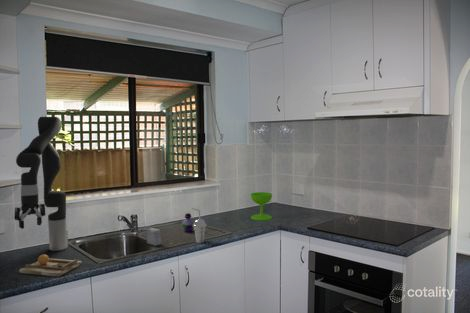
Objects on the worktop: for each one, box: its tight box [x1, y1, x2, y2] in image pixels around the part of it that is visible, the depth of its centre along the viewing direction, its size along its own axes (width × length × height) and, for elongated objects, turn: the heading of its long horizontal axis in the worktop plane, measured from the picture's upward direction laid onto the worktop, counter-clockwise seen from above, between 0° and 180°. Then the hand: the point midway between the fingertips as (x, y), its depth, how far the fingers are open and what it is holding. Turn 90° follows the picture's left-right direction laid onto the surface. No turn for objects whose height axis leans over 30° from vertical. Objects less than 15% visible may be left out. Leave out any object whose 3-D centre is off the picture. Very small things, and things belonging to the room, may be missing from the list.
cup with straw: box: [191, 207, 208, 244], centre depth 233 cm, size 8×9×20 cm
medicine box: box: [146, 227, 162, 246], centre depth 230 cm, size 8×4×9 cm, turn 48°
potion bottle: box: [181, 212, 195, 233], centre depth 256 cm, size 9×9×12 cm
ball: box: [37, 254, 50, 265], centre depth 193 cm, size 5×5×5 cm
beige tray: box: [19, 257, 83, 277], centre depth 192 cm, size 17×22×4 cm
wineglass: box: [250, 191, 273, 221], centre depth 293 cm, size 16×16×18 cm
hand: (30, 226), depth 191 cm, fingers open, 8 cm apart
